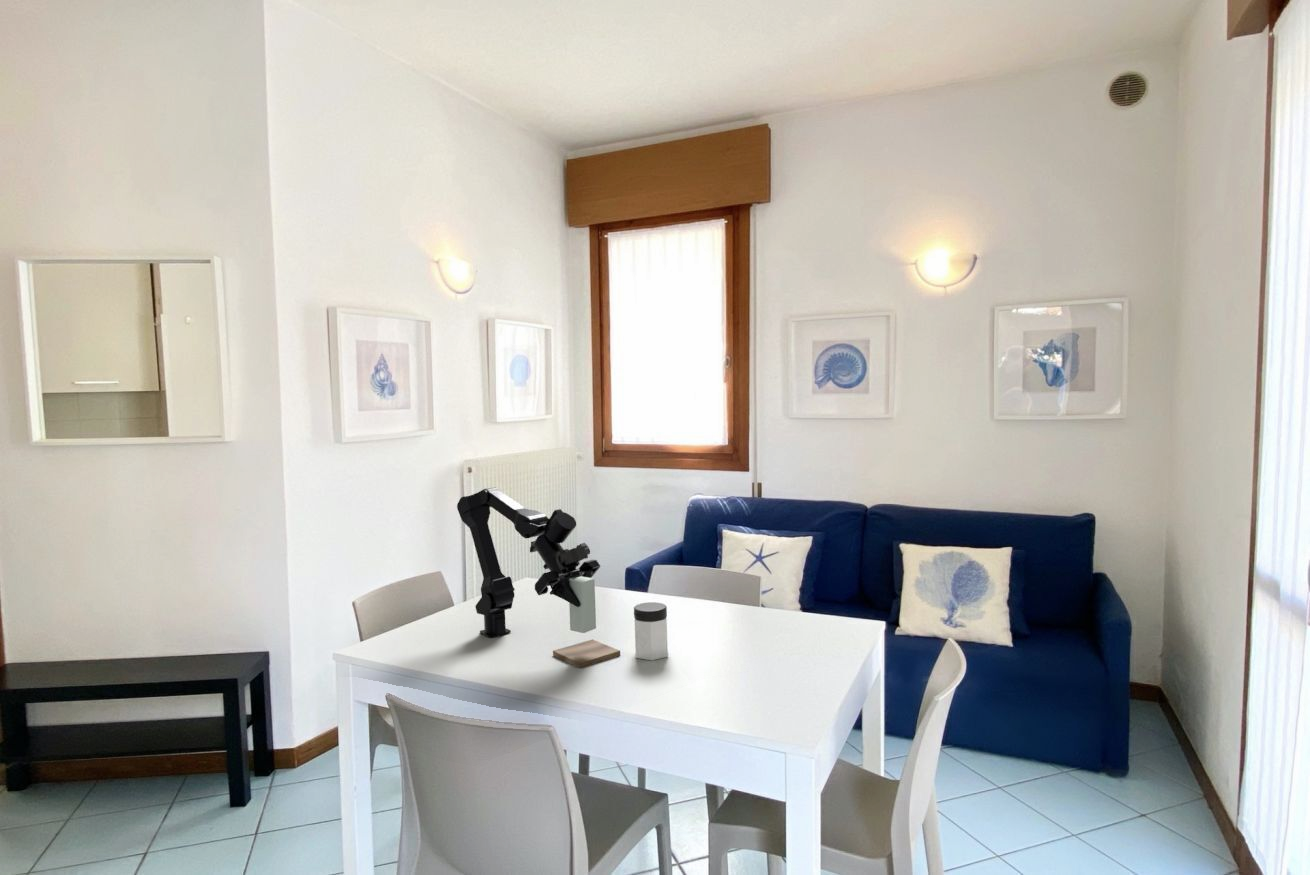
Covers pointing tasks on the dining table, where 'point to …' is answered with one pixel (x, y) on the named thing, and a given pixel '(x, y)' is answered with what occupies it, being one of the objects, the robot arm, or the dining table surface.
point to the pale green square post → (583, 605)
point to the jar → (651, 631)
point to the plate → (586, 653)
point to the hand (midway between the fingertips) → (586, 603)
